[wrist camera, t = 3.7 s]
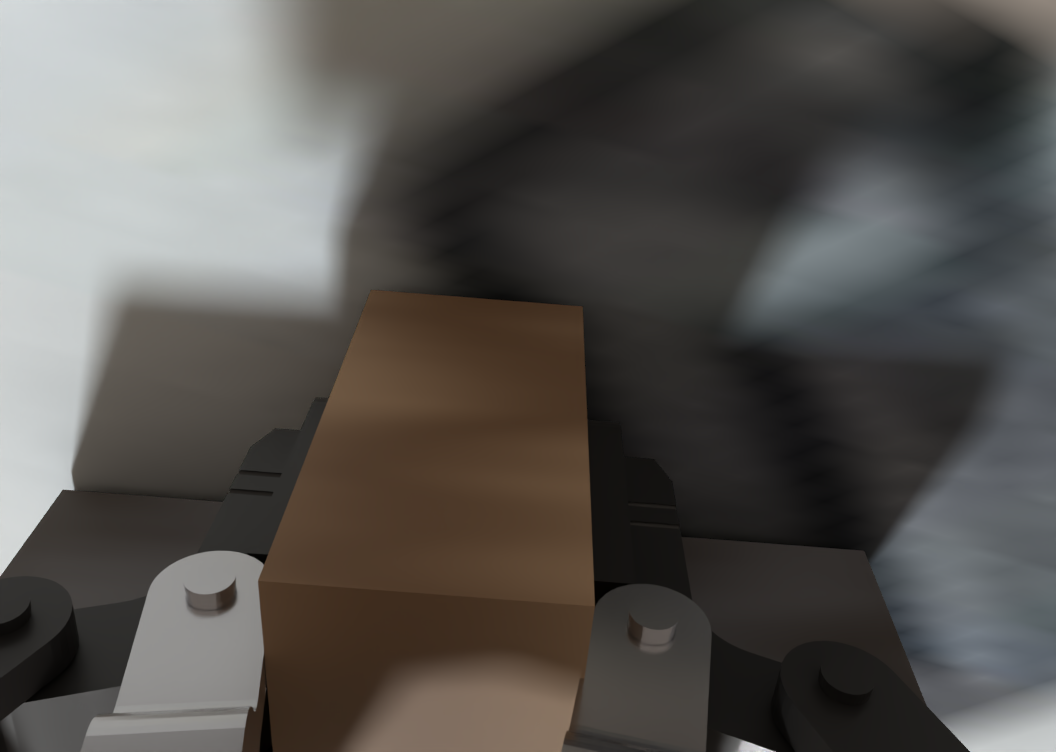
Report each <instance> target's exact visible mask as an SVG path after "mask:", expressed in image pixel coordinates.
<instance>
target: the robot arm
mask: <svg viewBox="0 0 1056 752" xmlns="http://www.w3.org/2000/svg"><path fill="white" fill-rule="evenodd" d="M328 399H329V398H315V399H314V401H313V403H312V405H311V408H310V410H309V412H308V414H307V417H306V419H305V421H304V424H303V426H302V428H301V430H289V429H277V428H275V429H274V430H273V431H271V432H270V433H269V434H267V435H266V436H265V437H263V438H262V439H261V440H259V441H258V442H257V443H256V444H254V445H253V446H252V447H251V448H250V450H249V452H248V454H247V456H246V458H245V460H244V461H243V463H242V465H241V467H240V469H239V474H237V475H236V477H235V479H234V481H233V483H232V485H231V487H230V493H227V495H226V497H225V499H224V501H223V503H222V505H221V507H220V509H219V511H218V513H217V515H216V517H215V519H214V521H213V523H212V525H211V527H210V529H209V531H208V533H207V535H206V537H205V539H204V541H203V542H202V544H201V546H200V548H199V550H198V552H197V554H195V555H191V556H188V557H185V558H183V559H181V560H178V561H177V562H175V563H173V564H171V565H170V566H168V567H167V568H166V569H164V570H163V571H162V572H161V573H160V574H159V575H158V576H157V577H156V578H155V579H154V581H153V582H152V584H151V586H150V588H149V591H148V594H147V596H144V597H141V598H137V599H134V600H130V601H124V602H119V603H112V604H106V605H99V606H92V607H86V608H79V609H73V604H72V600H71V596H70V595H69V593H68V591H67V590H66V589H65V588H64V587H63V586H62V585H60V584H58V583H57V582H55V581H52V580H49V579H46V578H41V577H33V576H18V577H9V578H3V579H0V752H273V748H272V737H271V725H270V714H269V703H268V691H267V680H266V668H265V657H264V646H263V634H262V623H261V611H260V600H259V589H258V579H259V577H260V574H261V571H262V569H263V566H264V564H265V561H266V559H267V556H268V553H269V551H270V548H271V546H272V543H273V541H274V538H275V535H276V533H277V530H278V528H279V525H280V523H281V520H282V517H283V515H284V512H285V510H286V507H287V505H288V502H289V499H290V497H291V494H292V492H293V489H294V487H295V484H296V481H297V479H298V476H299V474H300V471H301V469H302V466H303V463H304V461H305V458H306V456H307V453H308V450H309V448H310V445H311V443H312V440H313V438H314V435H315V432H316V430H317V427H318V425H319V422H320V420H321V417H322V414H323V412H324V409H325V407H326V404H327V402H328ZM587 425H588V449H589V473H590V498H591V522H592V547H593V571H594V596H595V609H594V616H593V623H592V630H591V637H590V644H589V651H588V658H587V665H586V672H585V678H580V679H579V684H578V689H577V694H576V698H575V703H574V708H573V713H572V718H571V723H570V727H569V731H568V730H567V731H566V734H565V738H564V742H563V746H562V751H561V752H970V751H969V750H968V749H967V748H966V747H965V746H964V745H963V744H962V743H961V742H960V741H959V740H958V739H957V738H956V737H955V735H954V734H953V733H952V732H951V731H950V730H949V729H948V728H947V727H946V726H945V725H944V724H943V723H942V722H941V721H940V720H939V719H938V718H937V717H936V716H935V714H934V713H933V712H932V711H931V710H930V709H929V708H928V707H927V706H926V705H925V704H924V703H923V702H922V701H921V700H920V699H919V698H918V697H917V696H916V694H915V693H914V692H913V691H912V690H911V689H910V688H909V687H908V686H907V685H906V684H905V683H904V682H903V681H902V680H901V679H900V678H899V677H898V676H897V674H896V673H895V672H894V671H893V670H892V669H890V668H889V667H888V666H887V665H886V664H885V663H884V662H882V661H881V660H879V659H878V658H877V657H875V656H873V655H871V654H870V653H868V652H866V651H864V650H862V649H859V648H857V647H854V646H851V645H848V644H844V643H840V642H834V641H813V642H807V643H804V644H801V645H799V646H797V647H795V648H793V649H792V650H791V651H790V652H789V653H788V654H787V655H786V656H785V658H784V660H783V661H782V663H781V662H778V661H775V660H772V659H769V658H766V657H763V656H760V655H757V654H754V653H751V652H748V651H745V650H743V649H740V648H738V647H736V646H734V645H732V644H730V643H728V642H726V641H725V640H723V639H722V638H720V637H719V636H717V635H716V634H715V633H714V632H712V631H711V626H710V623H709V620H708V618H707V617H706V615H705V613H704V612H703V611H702V609H701V608H700V607H699V606H698V605H697V604H696V603H694V602H693V601H692V596H691V590H690V584H689V578H688V572H687V567H686V561H685V555H684V549H683V543H682V537H681V531H680V529H679V520H678V514H677V510H676V502H675V496H674V490H673V484H672V481H671V479H670V478H669V477H668V476H667V475H666V473H665V472H664V471H663V470H662V468H661V467H660V466H659V465H658V464H657V462H656V461H655V460H654V459H646V458H634V457H624V455H623V445H622V435H621V426H620V423H619V422H610V421H597V420H587Z"/></svg>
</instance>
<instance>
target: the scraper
mask: <svg viewBox="0 0 1056 752" xmlns="http://www.w3.org/2000/svg"><path fill="white" fill-rule="evenodd" d="M222 503H223V502H218V501H205V500H192V499H179V498H165V497H152V496H139V495H126V494H113V493H100V492H87V491H74V490H62V492H61V493H60V495H59V496H58V497H57V499H56V500H55V502H54V503H53V504H52V506H51V507H50V508H49V510H48V511H47V513H46V514H45V515H44V517H43V518H42V520H41V521H40V522H39V524H38V525H37V526H36V528H35V529H34V531H33V532H32V533H31V535H30V536H29V538H28V539H27V540H26V542H25V543H24V544H23V546H22V547H21V549H20V550H19V551H18V553H17V554H16V556H15V557H14V558H13V560H12V561H11V563H10V564H9V565H8V567H7V568H6V569H5V571H4V572H3V574H2V575H1V576H0V579H3V578H9V577H18V576H33V577H41V578H46V579H49V580H52V581H55V582H57V583H58V584H60V585H62V586H63V587H64V588H65V589H66V590H67V591H68V593H69V595H70V596H71V600H72V604H73V609H79V608H86V607H92V606H99V605H106V604H112V603H119V602H124V601H130V600H134V599H137V598H141V597H144V596H147V594H148V591H149V588H150V586H151V584H152V582H153V581H154V579H155V578H156V577H157V576H158V575H159V574H160V573H161V572H162V571H163V570H164V569H166V568H167V567H168V566H170V565H171V564H173V563H175V562H177V561H178V560H181V559H183V558H185V557H188V556H191V555H195V554H197V552H198V550H199V548H200V546H201V544H202V542H203V541H204V539H205V537H206V535H207V533H208V531H209V529H210V527H211V525H212V523H213V521H214V519H215V517H216V515H217V513H218V511H219V509H220V507H221V505H222ZM682 543H683V549H684V555H685V561H686V567H687V572H688V578H689V584H690V590H691V596H692V601H693V602H694V603H696V604H697V605H698V606H699V607H700V608H701V609H702V611H703V612H704V613H705V615H706V617H707V618H708V620H709V623H710V626H711V631H712V632H714V633H715V634H716V635H717V636H719V637H720V638H722V639H723V640H725V641H726V642H728V643H730V644H732V645H734V646H736V647H738V648H740V649H743V650H745V651H748V652H751V653H754V654H757V655H760V656H763V657H766V658H769V659H772V660H775V661H778V662H781V663H782V661H783V660H784V658H785V656H786V655H787V654H788V653H789V652H790V651H791V650H792V649H793V648H795V647H797V646H799V645H801V644H804V643H807V642H813V641H834V642H840V643H844V644H848V645H851V646H854V647H857V648H859V649H862V650H864V651H866V652H868V653H870V654H871V655H873V656H875V657H877V658H878V659H879V660H881V661H882V662H884V663H885V664H886V665H887V666H888V667H889V668H890V669H892V670H893V671H894V672H895V673H896V674H897V676H898V677H899V678H900V679H901V680H902V681H903V682H904V683H905V684H906V685H907V686H908V687H909V688H910V689H911V690H912V691H913V692H914V693H915V694H916V696H917V697H918V698H919V699H920V700H921V701H922V702H923V703H924V704H925V705H926V703H925V701H924V698H923V696H922V693H921V691H920V688H919V686H918V683H917V681H916V678H915V676H914V673H913V671H912V668H911V666H910V663H909V661H908V658H907V656H906V654H905V651H904V649H903V646H902V644H901V641H900V639H899V636H898V634H897V631H896V629H895V626H894V624H893V621H892V619H891V616H890V614H889V611H888V609H887V606H886V604H885V601H884V599H883V596H882V594H881V591H880V589H879V586H878V584H877V581H876V579H875V576H874V574H873V571H872V569H871V566H870V564H869V561H868V559H867V556H866V554H865V551H861V550H848V549H835V548H822V547H809V546H796V545H782V544H769V543H756V542H743V541H730V540H717V539H704V538H691V537H682ZM258 589H259V600H260V611H261V623H262V634H263V646H264V657H265V668H266V680H267V691H268V703H269V714H270V725H271V737H272V748H273V752H561V751H562V746H563V742H564V738H565V734H566V731H567V730H568V731H569V727H570V723H571V718H572V713H573V708H574V703H575V698H576V694H577V689H578V684H579V679H580V678H585V672H586V665H587V658H588V651H589V644H590V637H591V630H592V623H593V616H594V609H595V596H594V571H593V547H592V522H591V498H590V473H589V449H588V425H587V400H586V376H585V351H584V327H583V306H570V305H558V304H545V303H532V302H520V301H507V300H494V299H481V298H469V297H456V296H443V295H431V294H418V293H405V292H393V291H380V290H371V291H370V293H369V296H368V299H367V301H366V304H365V306H364V309H363V311H362V314H361V317H360V319H359V322H358V324H357V327H356V330H355V332H354V335H353V337H352V340H351V342H350V345H349V348H348V350H347V353H346V355H345V358H344V360H343V363H342V366H341V368H340V371H339V373H338V376H337V378H336V381H335V384H334V386H333V389H332V391H331V394H330V396H329V399H328V402H327V404H326V407H325V409H324V412H323V414H322V417H321V420H320V422H319V425H318V427H317V430H316V432H315V435H314V438H313V440H312V443H311V445H310V448H309V450H308V453H307V456H306V458H305V461H304V463H303V466H302V469H301V471H300V474H299V476H298V479H297V481H296V484H295V487H294V489H293V492H292V494H291V497H290V499H289V502H288V505H287V507H286V510H285V512H284V515H283V517H282V520H281V523H280V525H279V528H278V530H277V533H276V535H275V538H274V541H273V543H272V546H271V548H270V551H269V553H268V556H267V559H266V561H265V564H264V566H263V569H262V571H261V574H260V577H259V579H258Z"/></svg>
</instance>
